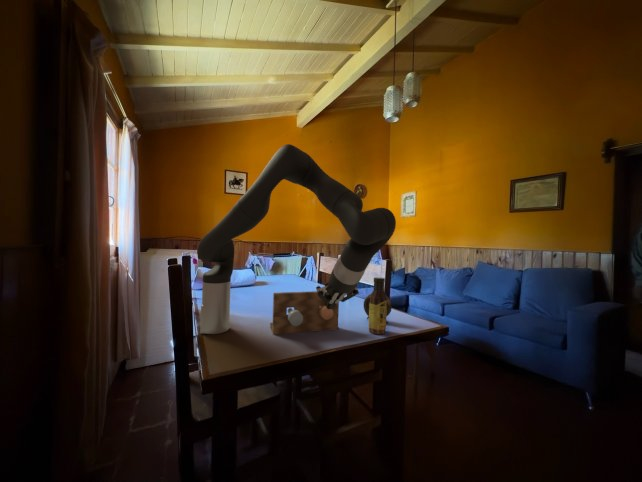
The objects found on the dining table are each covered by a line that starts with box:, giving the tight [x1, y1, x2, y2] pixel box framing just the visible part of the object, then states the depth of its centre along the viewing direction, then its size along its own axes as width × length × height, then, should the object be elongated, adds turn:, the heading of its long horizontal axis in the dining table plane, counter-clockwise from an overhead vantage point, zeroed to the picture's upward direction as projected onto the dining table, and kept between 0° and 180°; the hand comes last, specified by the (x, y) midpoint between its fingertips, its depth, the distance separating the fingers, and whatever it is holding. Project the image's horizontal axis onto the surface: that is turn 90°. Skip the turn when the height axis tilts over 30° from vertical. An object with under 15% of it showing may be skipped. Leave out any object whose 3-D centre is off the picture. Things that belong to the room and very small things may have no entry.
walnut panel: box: [269, 290, 340, 335], centre depth 100 cm, size 24×8×14 cm, turn 108°
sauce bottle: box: [368, 277, 387, 335], centre depth 98 cm, size 7×6×20 cm
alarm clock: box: [363, 293, 393, 324], centre depth 111 cm, size 11×5×16 cm, turn 58°
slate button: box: [287, 308, 303, 326], centre depth 91 cm, size 10×4×4 cm, turn 18°
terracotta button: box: [319, 305, 333, 320], centre depth 99 cm, size 10×4×4 cm, turn 18°
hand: (329, 306), depth 81 cm, fingers closed
